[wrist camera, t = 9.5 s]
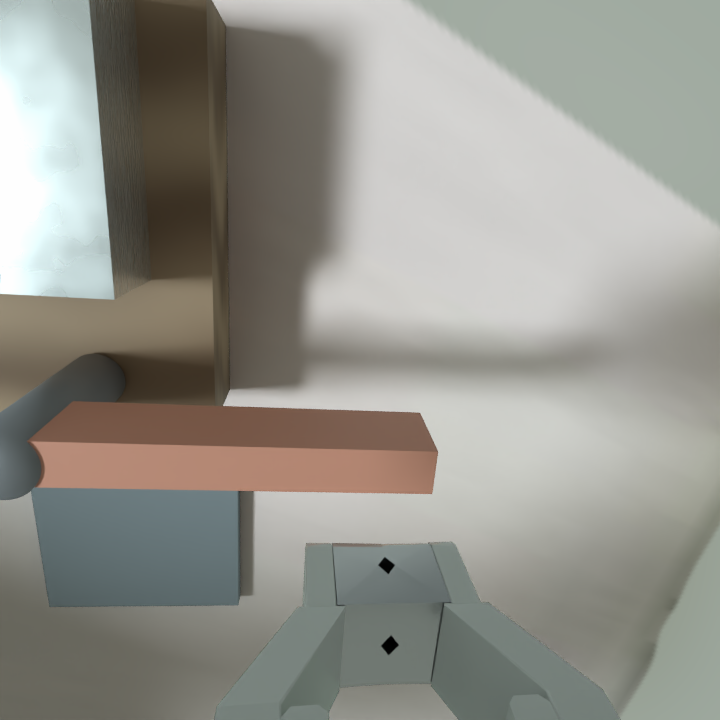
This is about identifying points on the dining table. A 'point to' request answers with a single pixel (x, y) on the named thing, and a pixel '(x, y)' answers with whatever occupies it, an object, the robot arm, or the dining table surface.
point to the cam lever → (201, 443)
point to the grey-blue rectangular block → (71, 150)
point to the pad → (139, 546)
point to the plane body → (154, 237)
